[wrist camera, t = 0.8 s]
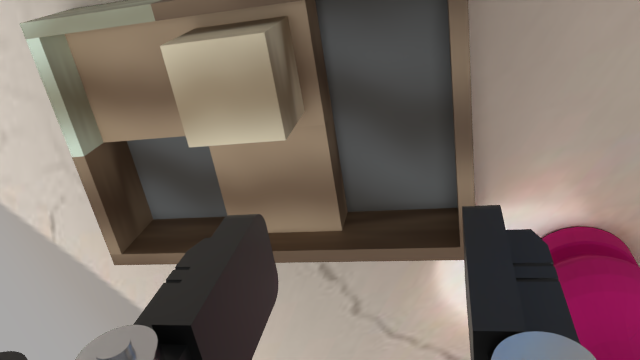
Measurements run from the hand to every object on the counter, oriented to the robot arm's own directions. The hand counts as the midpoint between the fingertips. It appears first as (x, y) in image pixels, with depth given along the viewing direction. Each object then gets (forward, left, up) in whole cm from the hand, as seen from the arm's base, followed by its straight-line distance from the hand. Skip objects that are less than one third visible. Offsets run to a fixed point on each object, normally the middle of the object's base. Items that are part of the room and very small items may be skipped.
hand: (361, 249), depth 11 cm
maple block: (0, -8, -17) cm, 19 cm away
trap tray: (+3, -8, -19) cm, 21 cm away
